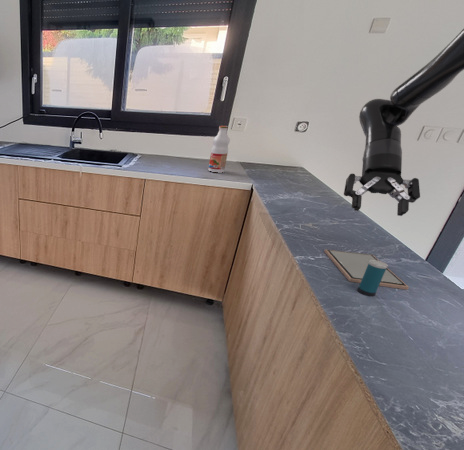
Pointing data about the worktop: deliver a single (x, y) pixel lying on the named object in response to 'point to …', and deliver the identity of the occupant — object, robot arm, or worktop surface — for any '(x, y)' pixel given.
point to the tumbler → (372, 277)
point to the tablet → (361, 268)
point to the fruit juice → (219, 151)
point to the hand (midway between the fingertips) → (379, 211)
